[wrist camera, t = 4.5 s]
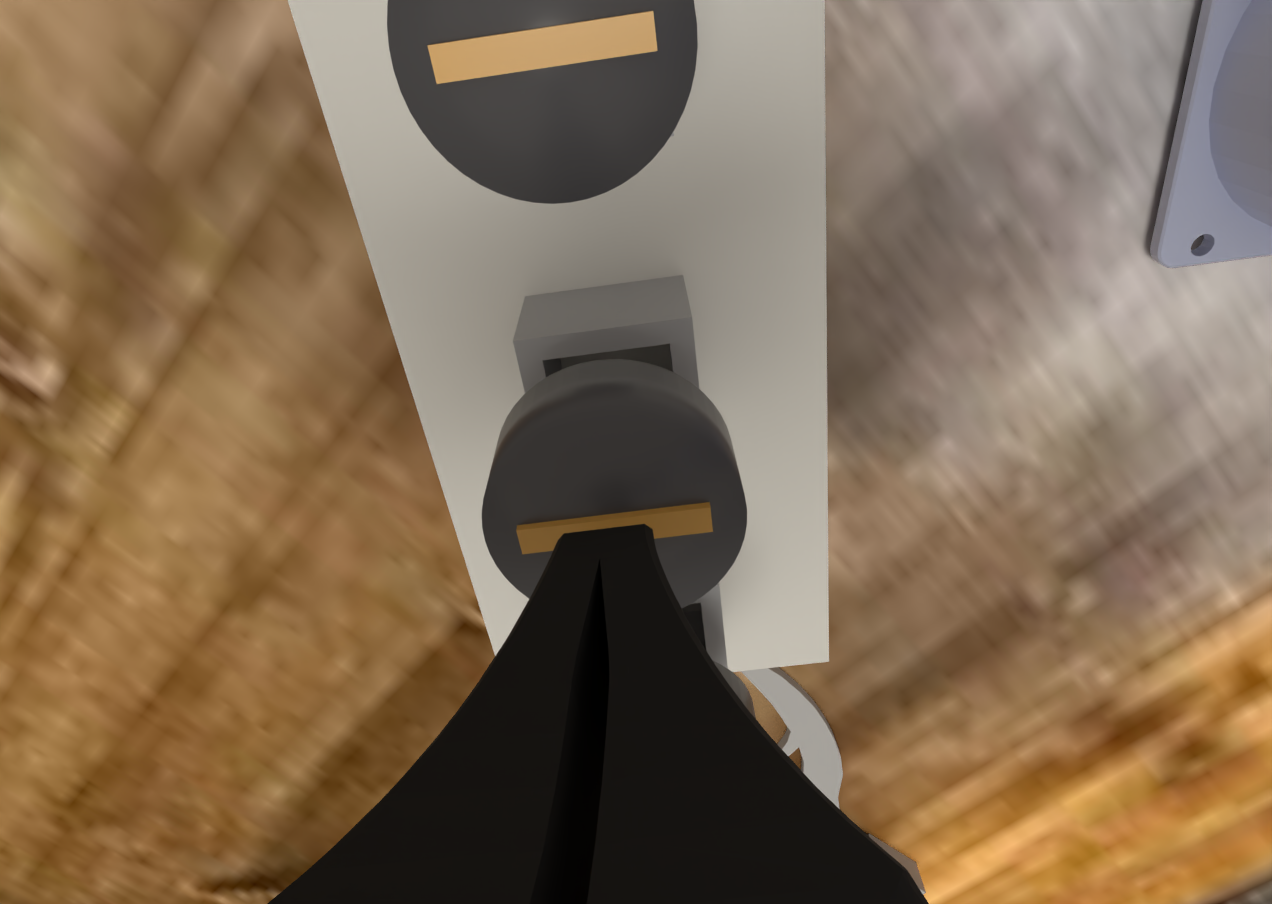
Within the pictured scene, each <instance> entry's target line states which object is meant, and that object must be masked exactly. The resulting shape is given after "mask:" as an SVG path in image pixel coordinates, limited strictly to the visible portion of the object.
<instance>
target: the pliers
mask: <svg viewBox="0 0 1272 904" xmlns="http://www.w3.org/2000/svg"><path fill="white" fill-rule="evenodd" d="M741 672H742V673H743V674H744V675H745V676H746V677H747V678H748V679H749V680H750V681H751V682H752V683H753V684H754V685H755V686H756V688H757V689H758V690H759V691H760V692H761V693H762V694H763V695H764V696H765V697H766V698H767V699H768V700H769V702H770V703H771V704H772V705H773V706H774V708H775V709H776V711H777V712H778V713H779V715H780V716H781V718H782V719H783V721H784V722H785V724H786V725H787V730H786V733H785V735H784V736H783V737H782V739H781V740H780V741H779V743H778V744H777V745H778V746H779V747H780V748H781V749H782V750H783V751H784V752H785V753H786V754H787V756H789V755H790V754H792V753H793V752H794V751H795V750H796V749H797V748H798V747H799V749H800V752H801V755H802V763H801V771H802V772H803V773H804V774H805V775H806V776H807V777H808V778H809V780H810V781H811V782H812V783H813V784H814V785H815V786H816V787H817V788H818V789H819V790H820V791H821V792H822V793H823V794H824V795H825V796H826V797H827V798H828V799H830V800H831V801H832V802H833V803H834V804H835V805H836V806H837V807H838V808H839V802H838V794H839V790H840V785H841V781H842V776H843V772H842V764H841V756H840V753H839V749H838V746H837V743H836V740H835V738H834V735H833V732H832V730H831V728H830V726H829V724H828V722H827V721H826V719H825V717H824V715H823V713H822V712H821V711H820V709H819V708H818V706H817V705H816V703H815V702H814V701H813V699H812V698H811V697H810V696H809V695H808V694H807V693H806V692H805V691H804V689H803V688H802V687H801V686H800V685H799V684H798V683H797V682H796V681H794V680H793V679H792V678H791V677H790V676H788V675H787V674H786V673H785V672H784V671H783V670H781V669H780V668H779V667H774V668H765V669H756V670H747V671H741ZM868 836H869V837H870V838H871V839H872V840H873V841H875V842H876V843H877V844H878V845H879V846H880V847H882V848H883V849H884V850H885V851H886V852H887V853H889V854H890V855H891V856H892V857H893V858H894V859H896V860H897V861H898V862H899V863H900V864H901V865H902V866H904V867H905V868H906V869H907V870H908V872H909V873H910V875H911V876H912V878H913V880H914V881H915V883H916V884H917V886H918V888H919V889H920V891H921V892H922V894H925V893H926V891H925V888H924V885H923V882H922V879H921V876H920V873H919V870H918V867H917V864H916V862H915V861H913V860H911V859H910V858H908V857H906V856H905V855H903V854H902V853H900V852H898V851H897V850H895V849H893V848H892V847H890V846H889V845H887V844H885V843H884V842H882V841H880V840H879V839H877V838H876V837H874V836H872V835H871V834H868Z"/></svg>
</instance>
